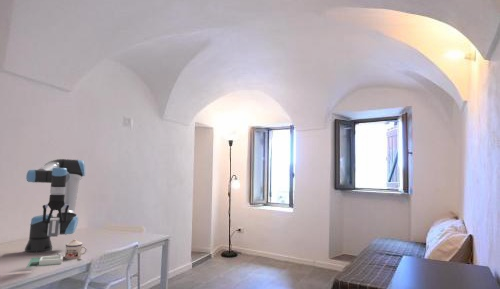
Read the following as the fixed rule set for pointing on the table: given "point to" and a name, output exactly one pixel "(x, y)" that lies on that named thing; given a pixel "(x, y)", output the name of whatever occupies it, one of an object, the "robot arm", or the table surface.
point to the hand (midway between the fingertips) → (53, 234)
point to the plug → (53, 227)
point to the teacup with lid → (74, 250)
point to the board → (35, 262)
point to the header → (51, 260)
